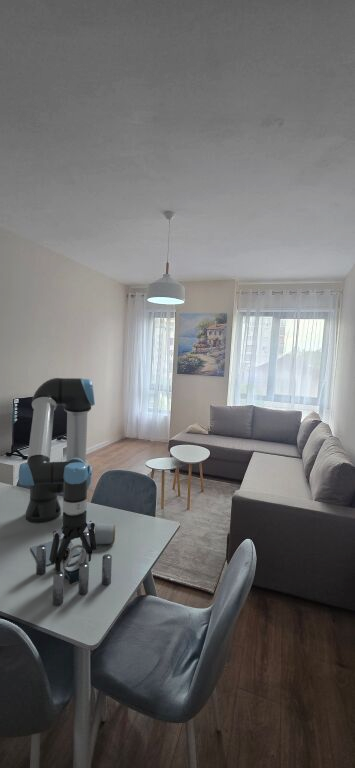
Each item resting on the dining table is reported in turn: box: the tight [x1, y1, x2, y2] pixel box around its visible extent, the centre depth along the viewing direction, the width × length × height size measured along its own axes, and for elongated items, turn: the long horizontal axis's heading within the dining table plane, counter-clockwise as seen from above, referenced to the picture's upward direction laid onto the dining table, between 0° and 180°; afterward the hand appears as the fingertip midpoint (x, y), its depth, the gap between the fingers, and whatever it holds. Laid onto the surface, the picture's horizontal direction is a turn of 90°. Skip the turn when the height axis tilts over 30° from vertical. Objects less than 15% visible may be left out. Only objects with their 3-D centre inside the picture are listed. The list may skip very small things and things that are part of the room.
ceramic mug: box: [94, 523, 116, 545], centre depth 136 cm, size 11×8×8 cm
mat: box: [30, 537, 81, 567], centre depth 127 cm, size 14×14×1 cm
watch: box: [62, 543, 86, 585], centre depth 113 cm, size 6×8×11 cm
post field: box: [35, 531, 113, 607], centre depth 113 cm, size 20×19×9 cm
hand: (73, 575), depth 113 cm, fingers closed on watch, 8 cm apart
